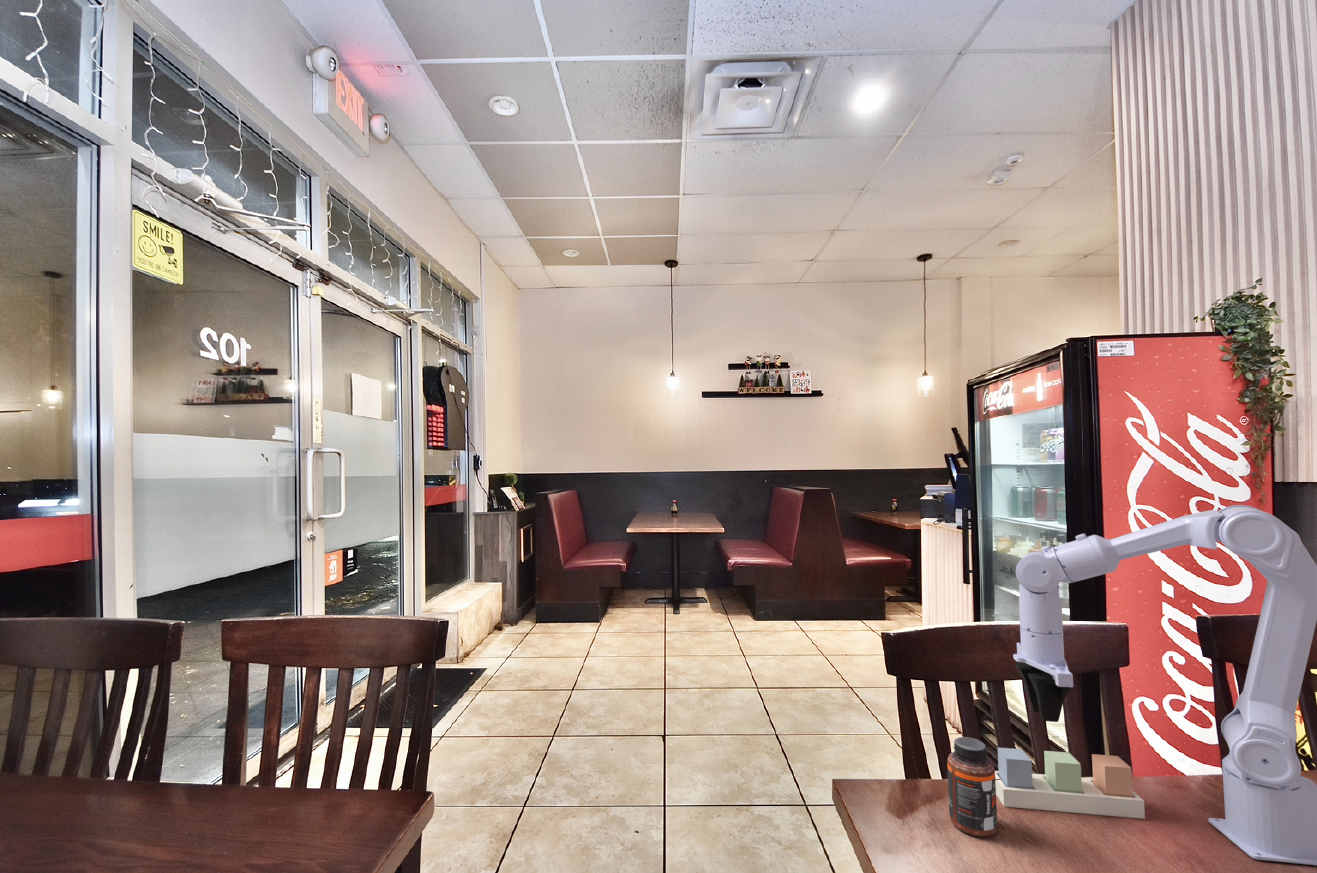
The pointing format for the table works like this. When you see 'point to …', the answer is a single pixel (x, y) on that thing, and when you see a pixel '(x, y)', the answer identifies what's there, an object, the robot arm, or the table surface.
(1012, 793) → the button bar
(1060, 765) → the button green
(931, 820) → the table surface
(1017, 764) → the button slate
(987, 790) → the supplement bottle
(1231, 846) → the table surface
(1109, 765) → the button terracotta
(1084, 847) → the table surface
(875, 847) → the table surface
